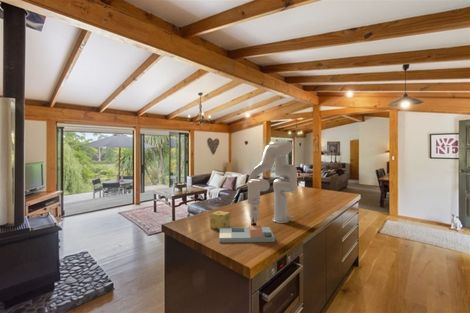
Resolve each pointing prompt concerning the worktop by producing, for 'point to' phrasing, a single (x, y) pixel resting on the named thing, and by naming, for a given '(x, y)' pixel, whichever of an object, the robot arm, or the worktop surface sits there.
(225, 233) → the trap deck
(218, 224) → the cheese
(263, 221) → the worktop surface
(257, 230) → the block
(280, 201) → the robot arm
